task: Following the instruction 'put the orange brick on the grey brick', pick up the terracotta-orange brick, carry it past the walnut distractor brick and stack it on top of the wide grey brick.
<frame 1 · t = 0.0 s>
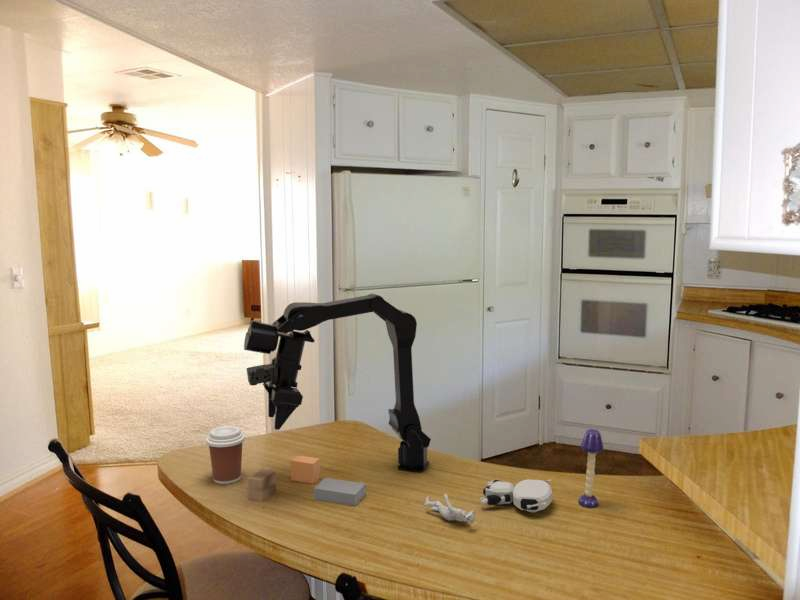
hand: (273, 423, 146), 15 cm above the breakfast bar, tool pointing down, fingers open, 9 cm apart
walnut brick: (262, 495, 144), on the breakfast bar
coffee cup: (227, 479, 153), on the breakfast bar
white plastic figure: (449, 520, 132), on the breakfast bar
grey brick: (340, 498, 142), on the breakfast bar
toy lamp: (589, 505, 138), on the breakfast bar
robot toy: (516, 505, 139), on the breakfast bar
orange brick: (305, 479, 152), on the breakfast bar
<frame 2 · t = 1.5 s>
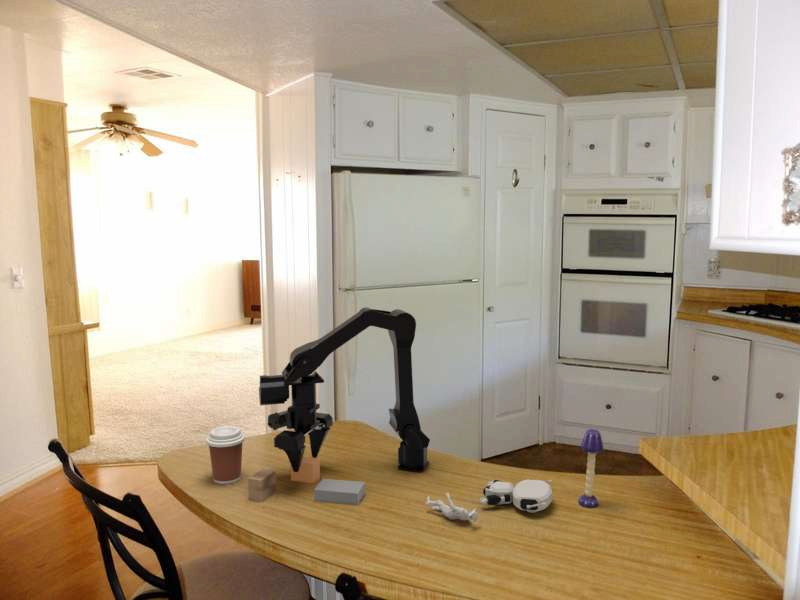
hand: (305, 464, 152), 4 cm above the breakfast bar, tool pointing down, fingers open, 9 cm apart
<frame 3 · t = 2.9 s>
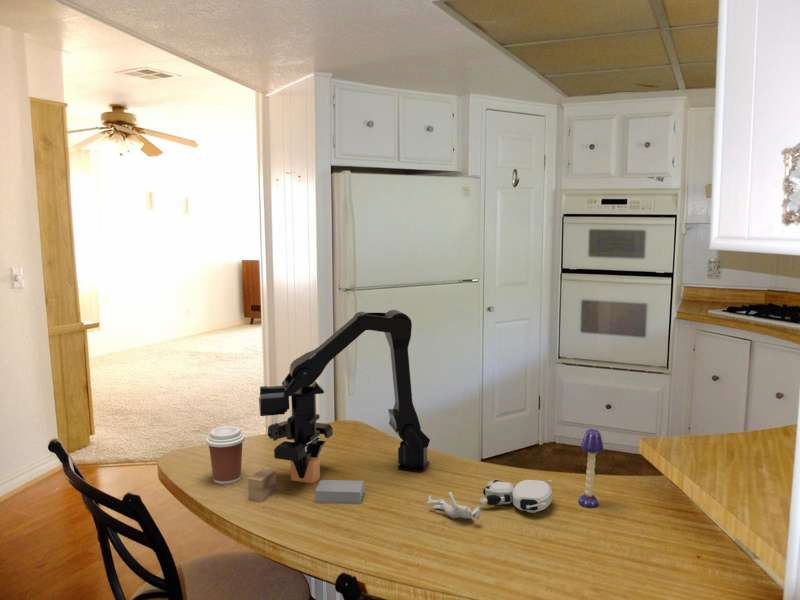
hand: (305, 474, 152), 1 cm above the breakfast bar, tool pointing down, fingers closed on orange brick, 3 cm apart
orange brick: (305, 479, 152), on the breakfast bar, touching gripper
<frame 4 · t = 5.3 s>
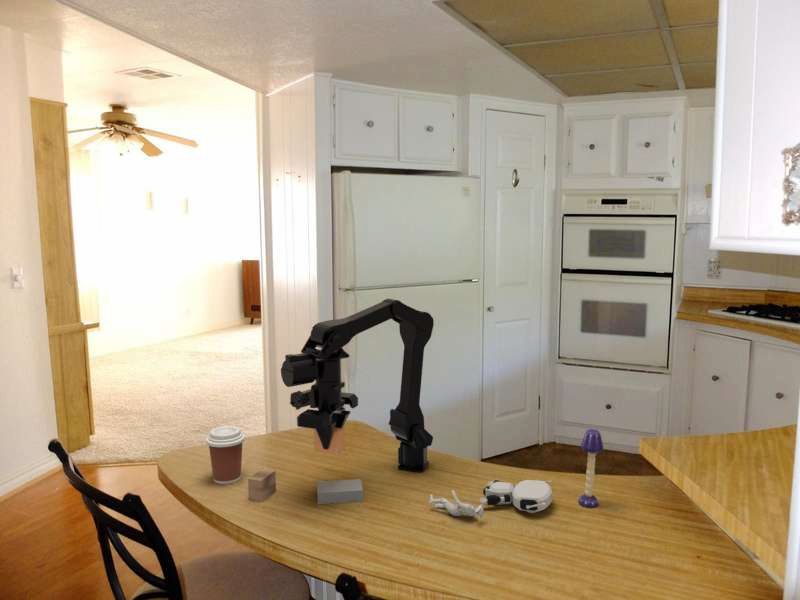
hand: (329, 446, 143), 11 cm above the breakfast bar, tool pointing down, fingers closed on orange brick, 3 cm apart
white plastic figure: (456, 516, 134), on the breakfast bar
orange brick: (329, 450, 144), point 10 cm above the breakfast bar, touching gripper
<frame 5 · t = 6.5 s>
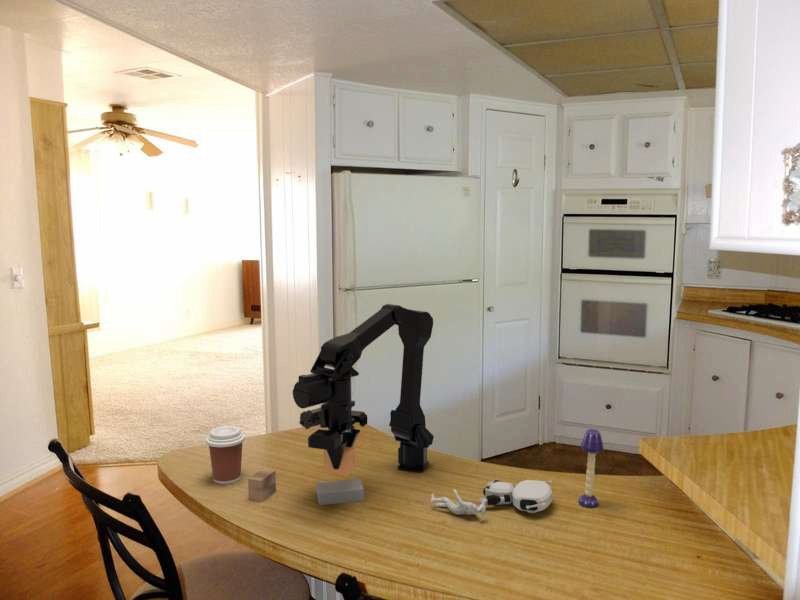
hand: (339, 465, 141), 7 cm above the breakfast bar, tool pointing down, fingers closed on orange brick, 3 cm apart
orange brick: (339, 470, 142), point 6 cm above the breakfast bar, touching gripper
when the fingers open (5 cm above the breakfast bar, at t = 7.6 s): orange brick drops 2 cm, point 3 cm above the breakfast bar.
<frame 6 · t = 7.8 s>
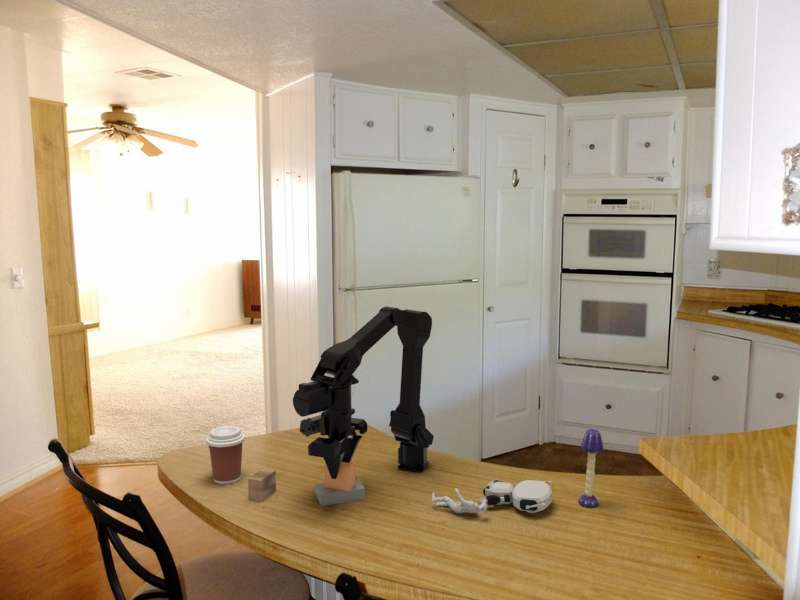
hand: (339, 473, 142), 5 cm above the breakfast bar, tool pointing down, fingers open, 6 cm apart
orange brick: (340, 486, 142), point 3 cm above the breakfast bar
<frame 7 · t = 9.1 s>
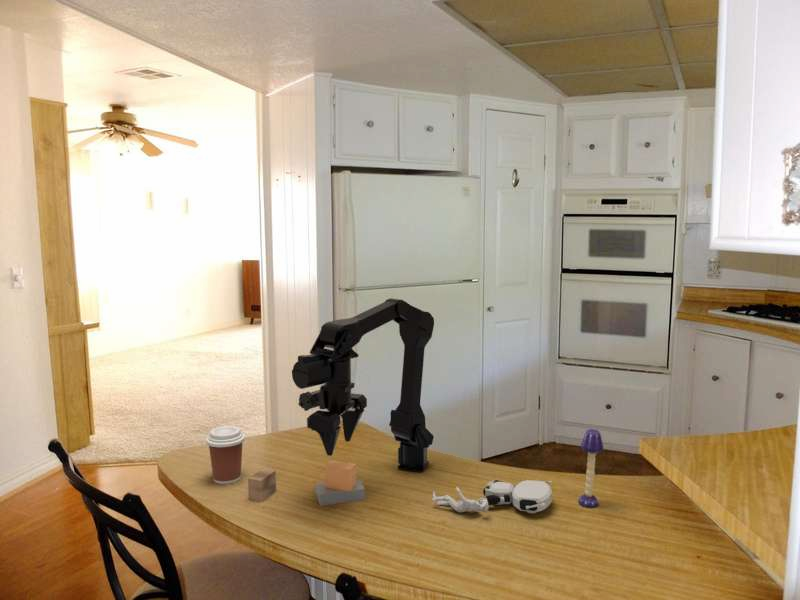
hand: (338, 448, 141), 11 cm above the breakfast bar, tool pointing down, fingers open, 9 cm apart
grey brick: (340, 498, 142), on the breakfast bar, touching orange brick
orange brick: (340, 486, 142), point 3 cm above the breakfast bar, touching grey brick
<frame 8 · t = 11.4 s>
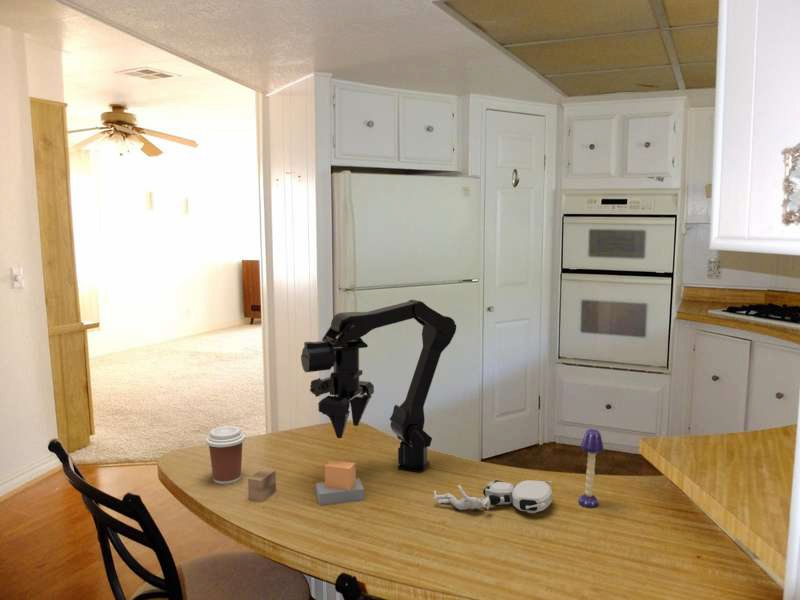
hand: (347, 431, 150), 12 cm above the breakfast bar, tool pointing down, fingers open, 9 cm apart
white plastic figure: (461, 510, 136), on the breakfast bar, touching robot toy
robot toy: (516, 506, 139), on the breakfast bar, touching white plastic figure
everything else where it was.
at the end: orange brick 0.2 cm off-centre on the grey brick, point 3.0 cm above the grey brick's base; orange brick tilted 0°; walnut brick moved 0.1 cm from its start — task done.
